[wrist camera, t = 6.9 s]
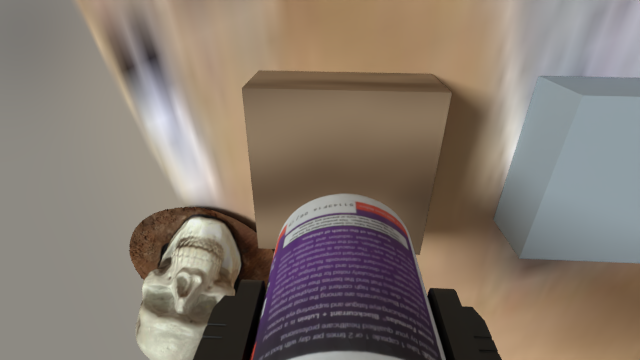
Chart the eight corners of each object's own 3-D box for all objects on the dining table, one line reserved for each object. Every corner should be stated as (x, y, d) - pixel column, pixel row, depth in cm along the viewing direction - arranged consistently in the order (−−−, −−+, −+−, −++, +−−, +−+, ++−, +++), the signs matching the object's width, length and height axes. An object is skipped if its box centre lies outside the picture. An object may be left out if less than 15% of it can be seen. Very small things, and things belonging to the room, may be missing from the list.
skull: (118, 180, 23) (173, 297, 17) (249, 174, 30) (318, 254, 25) (102, 298, 28) (139, 417, 23) (217, 268, 36) (267, 353, 30)
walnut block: (258, 70, 20) (242, 88, 16) (431, 73, 20) (451, 92, 16) (269, 211, 25) (258, 248, 21) (408, 216, 24) (419, 254, 21)
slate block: (539, 76, 19) (582, 95, 16) (722, 79, 19) (809, 100, 16) (493, 219, 24) (519, 258, 21) (638, 224, 24) (690, 265, 20)
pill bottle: (253, 218, 14) (115, 597, 5) (380, 168, 12) (477, 569, 4) (314, 304, 16) (287, 666, 7) (427, 270, 15) (552, 663, 6)
